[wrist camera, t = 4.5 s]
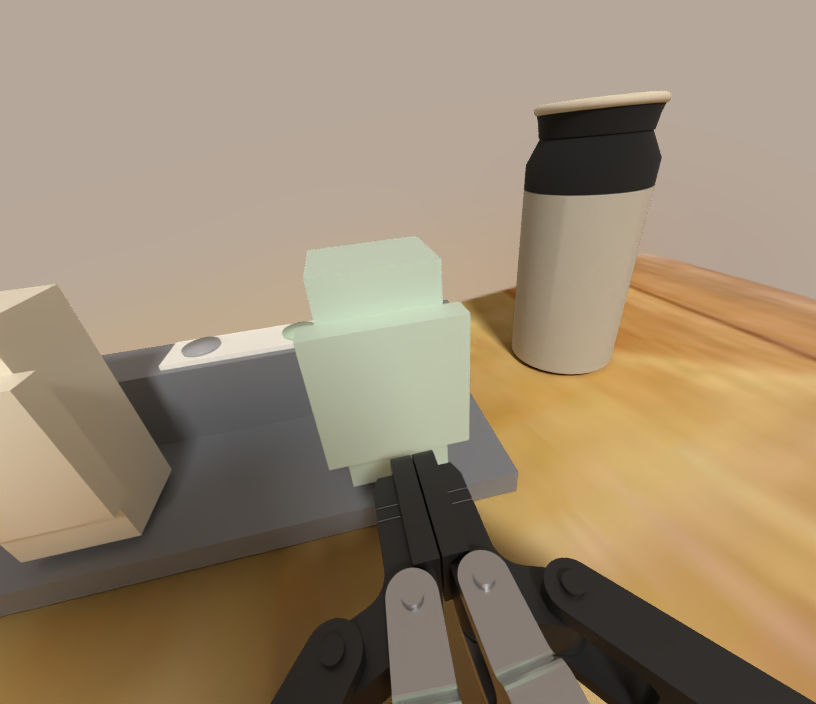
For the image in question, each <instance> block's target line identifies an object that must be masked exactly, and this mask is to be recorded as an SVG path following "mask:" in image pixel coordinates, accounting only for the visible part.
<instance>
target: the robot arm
mask: <svg viewBox="0 0 816 704" xmlns="http://www.w3.org/2000/svg"><path fill="white" fill-rule="evenodd" d="M411 457H412V458H411ZM390 465H391V472H392V475H391V476H387V477H382V478H378V479H377V482H376V485H375V488H374V492H373V495H374V502H375V509H376V516H377V522H378V530H379V536H380V543H381V550H382V557H383V564H384V572H385V578H384V584H383V587H382V590H381V592H380V594H379V596H378V597H377V599H376V600H375V601H374V602H373V603H372V605H370V606H369V607H368V608H367V609H365V610H364V611H363V612H361V613H360V614H358V615H357V616H355V617H354V618H353V619H351V620H350V621H349V620H346V619H342V618H335V619H331V620H328V621H326V622H324V623H323V624H321V625H320V626H319V627H318V628H317V629H316V630H315V631H314V632H313V633H312V635H311V636H310V638H309V640H308V641H307V643H306V645H305V646H304V648H303V650H302V651H301V653H300V655H299V656H298V658H297V660H296V662H295V663H294V665H293V667H292V668H291V670H290V672H289V673H288V675H287V677H286V678H285V680H284V682H283V684H282V685H281V687H280V689H279V690H278V692H277V694H276V695H275V697H274V699H273V700H272V702H271V704H382V703H383V702H384V701H385V700H386V699H387V698H389V697H390V696H391V695H392V704H462V702H461V698H460V694H459V692H458V688H457V683H456V678H455V673H454V668H453V662H452V657H451V652H450V647H449V641H448V636H447V631H446V626H445V620H444V615H443V604H442V602H443V597H442V592H443V596H444V600H445V601H449V600H452V599H453V601H454V605H455V608H456V612H457V615H458V624H459V630H460V634H461V636H462V639H463V642H464V645H465V648H466V651H467V653H468V656H469V659H470V662H471V665H472V668H473V671H474V673H475V676H476V679H477V682H478V685H479V688H480V690H481V693H482V696H483V699H484V702H485V704H589V702H588V700H587V698H586V696H585V695H584V693H583V691H582V689H581V687H580V685H579V683H578V682H577V680H578V681H579V682H581V683H582V684H583V685H584V686H586V687H587V688H588V689H589V690H591V691H592V692H593V693H595V694H596V695H597V696H598V697H600V698H601V699H602V700H603V701H605V702H606V703H607V704H816V703H815V702H813V701H812V700H810V699H808V698H806V697H805V696H803V695H801V694H800V693H798V692H796V691H795V690H793V689H791V688H790V687H788V686H786V685H785V684H783V683H781V682H780V681H778V680H776V679H775V678H773V677H771V676H770V675H768V674H766V673H765V672H763V671H761V670H760V669H758V668H756V667H755V666H753V665H751V664H750V663H748V662H746V661H745V660H743V659H741V658H740V657H738V656H736V655H735V654H733V653H731V652H730V651H728V650H726V649H725V648H723V647H721V646H720V645H718V644H716V643H715V642H713V641H711V640H710V639H708V638H706V637H704V636H703V635H701V634H699V633H698V632H696V631H694V630H693V629H691V628H689V627H688V626H686V625H684V624H683V623H681V622H679V621H678V620H676V619H674V618H673V617H671V616H669V615H668V614H666V613H664V612H663V611H661V610H659V609H658V608H656V607H654V606H653V605H651V604H649V603H648V602H646V601H644V600H643V599H641V598H639V597H638V596H636V595H634V594H633V593H631V592H629V591H628V590H626V589H624V588H623V587H621V586H619V585H618V584H616V583H614V582H613V581H611V580H609V579H608V578H606V577H604V576H602V575H601V574H599V573H597V572H596V571H594V570H592V569H591V568H589V567H587V566H586V565H584V564H582V563H581V562H579V561H577V560H574V559H570V558H558V559H555V560H553V561H551V562H550V563H549V564H548V565H547V567H546V568H544V567H534V566H524V565H518V564H515V563H512V562H510V561H508V560H507V559H505V558H503V557H502V556H501V555H500V554H499V553H498V552H497V551H496V550H495V548H494V547H493V545H492V543H491V541H490V539H489V536H488V534H487V532H486V529H485V527H484V525H483V522H482V520H481V518H480V515H479V513H478V511H477V508H476V506H475V504H474V501H473V500H472V497H471V494H470V492H469V490H468V488H467V485H466V483H465V480H464V478H463V476H462V473H461V472H460V471H459V470H458V469H457V468H456V467H455V466H454V465H453V464H452V463H451V462H448V463H444V464H440V465H438V463H437V460H436V458H435V455H434V452H433V451H432V450H428V451H424V452H419V453H415V454H412V455H406V456H401V457H397V458H392V459H390ZM576 679H577V680H576Z"/></svg>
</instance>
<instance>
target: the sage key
mask: <svg viewBox="0 0 816 704" xmlns="http://www.w3.org/2000/svg"><path fill="white" fill-rule="evenodd" d="M303 280H304V284H305V288H306V293H307V297H308V301H309V305H310V309H311V313H312V318H313V322H314V325H311V326H304V327H298V328H295V333H294V340H293V345H294V348H295V352H296V355H297V359H298V362H299V366H300V369H301V373H302V376H303V380H304V383H305V387H306V390H307V394H308V397H309V401H310V404H311V408H312V411H313V415H314V418H315V422H316V425H317V429H318V432H319V436H320V439H321V443H322V446H323V450H324V453H325V457H326V460H327V464H328V467H329V471H330V470H334V469H339V468H343V467H348V466H349V470H350V474H351V478H352V482H353V486H354V487H355V486H360V485H364V484H369V483H373V482H377V479H378V478H382V477H387V476H391V475H392V472H391V465H390V459H392V458H397V457H401V456H406V455H412V454H415V453H419V452H424V451H428V450H432V451H433V452H434V455H435V458H436V460H437V463H438V465H440V464H444V463H448V448H447V445H448V444H453V443H457V442H462V441H466V440H469V407H470V312H469V311H468V310H467V309H466V308H465V307H464V306H463V304H462V303H461V302H460V301H458V302H452V303H446V304H443V299H442V269H441V258H440V257H439V256H438V255H437V254H435V253H434V252H433V251H432V250H431V249H430V248H429V247H428V246H427V245H426V244H425V243H423V242H422V241H421V240H420V239H419V238H418V237H417V236H412V237H405V238H397V239H390V240H382V241H375V242H367V243H360V244H352V245H345V246H337V247H330V248H322V249H315V250H308V251H307V255H306V262H305V269H304V276H303ZM411 458H412V457H411Z"/></svg>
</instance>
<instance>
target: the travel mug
mask: <svg viewBox="0 0 816 704" xmlns="http://www.w3.org/2000/svg"><path fill="white" fill-rule="evenodd" d="M671 98H672V93H671V92H670V91H652V92H639V93H629V94H619V95H610V96H601V97H593V98H585V99H578V100H570V101H564V102H557V103H551V104H546V105H541V106H538V107H537V108H536V109H535V110H534V114H535V116H537V119H538V132H539V139H540V140H539V142H538V144H537V146H536V148H535V149H534V151H533V153H532V155H531V157H530V159H529V161H528V162H527V164H526V172H525V185H524V197H523V210H522V222H521V236H520V248H519V260H518V272H517V285H516V298H515V310H514V323H513V335H512V350H513V352H514V353H515V355H516V356H517V357H518V358H519V359H521V360H522V361H523V362H525V363H527V364H529V365H531V366H533V367H535V368H538V369H541V370H545V371H549V372H554V373H561V374H583V373H589V372H593V371H596V370H599V369H601V368H603V367H605V366H606V365H607V364H608V363H609V362H610V360H611V357H612V353H613V349H614V345H615V341H616V337H617V333H618V329H619V325H620V321H621V317H622V313H623V309H624V305H625V301H626V297H627V293H628V289H629V285H630V281H631V277H632V273H633V269H634V265H635V261H636V257H637V253H638V249H639V245H640V241H641V237H642V233H643V229H644V225H645V221H646V218H647V214H648V209H649V206H650V202H651V198H652V194H653V190H654V185H655V182H656V178H657V174H658V170H659V166H660V162H661V154H660V150H659V147H658V143H657V140H656V136H655V133H654V129H655V128H656V126H657V123H658V121H659V118H660V115H661V112H662V110H663V108H664V106H665V104H666V103H667V102H668V101H670V100H671Z"/></svg>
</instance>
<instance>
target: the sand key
mask: <svg viewBox="0 0 816 704" xmlns="http://www.w3.org/2000/svg"><path fill="white" fill-rule="evenodd" d="M171 470H172V469H171V468H170V466H169V464H168V463H167V461H166V459H165V458H164V456H163V455H162V453H161V451H160V450H159V448H158V446H157V445H156V443H155V442H154V440H153V438H152V437H151V435H150V434H149V432H148V430H147V429H146V427H145V425H144V424H143V422H142V421H141V419H140V417H139V416H138V414H137V413H136V411H135V409H134V408H133V406H132V404H131V403H130V401H129V400H128V398H127V396H126V395H125V393H124V392H123V390H122V388H121V387H120V385H119V383H118V382H117V380H116V379H115V377H114V375H113V374H112V372H111V371H110V369H109V367H108V366H107V364H106V362H105V361H104V359H103V358H102V356H101V354H100V353H99V351H98V350H97V348H96V346H95V345H94V343H93V341H92V340H91V338H90V337H89V335H88V334H87V332H86V330H85V329H84V327H83V325H82V324H81V322H80V320H79V319H78V317H77V316H76V314H75V312H74V311H73V309H72V307H71V306H70V304H69V303H68V301H67V299H66V298H65V296H64V295H63V293H62V292H61V290H60V288H59V286H58V285H57V284H54V285H45V286H38V287H31V288H23V289H15V290H8V291H0V545H1V546H2V547H3V548H5V549H6V550H7V551H8V552H9V553H10V554H12V555H13V556H14V557H15V558H16V559H17V560H19V561H20V562H21V563H22V562H27V561H31V560H35V559H40V558H44V557H49V556H53V555H57V554H62V553H66V552H70V551H75V550H79V549H84V548H88V547H92V546H97V545H101V544H106V543H110V542H114V541H119V540H123V539H127V538H132V537H136V536H141V535H142V533H143V530H144V528H145V526H146V524H147V522H148V520H149V518H150V515H151V513H152V511H153V509H154V507H155V505H156V503H157V500H158V498H159V496H160V494H161V492H162V490H163V487H164V485H165V483H166V481H167V479H168V477H169V475H170V472H171Z"/></svg>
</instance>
